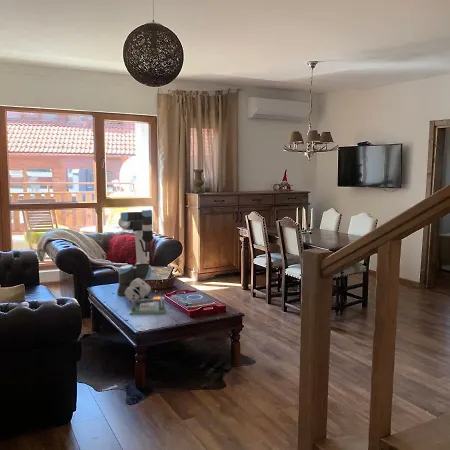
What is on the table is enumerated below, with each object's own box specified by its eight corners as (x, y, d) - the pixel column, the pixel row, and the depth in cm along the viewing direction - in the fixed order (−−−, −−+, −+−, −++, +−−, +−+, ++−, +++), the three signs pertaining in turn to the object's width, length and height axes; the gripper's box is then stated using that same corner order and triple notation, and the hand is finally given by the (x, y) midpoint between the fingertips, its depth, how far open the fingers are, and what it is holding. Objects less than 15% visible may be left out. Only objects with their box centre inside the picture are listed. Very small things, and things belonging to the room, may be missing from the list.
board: (131, 307, 348) (131, 306, 348) (164, 306, 351) (164, 304, 351) (129, 314, 332) (129, 313, 332) (164, 313, 335) (164, 311, 335)
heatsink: (140, 306, 347) (140, 299, 346) (154, 306, 348) (153, 299, 347) (139, 311, 335) (139, 304, 334) (153, 311, 336) (153, 304, 335)
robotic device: (141, 314, 354) (155, 295, 350) (119, 297, 356) (133, 278, 352) (146, 310, 364) (159, 291, 360) (125, 294, 366) (138, 274, 362)
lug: (158, 307, 345) (158, 297, 344) (164, 307, 346) (164, 296, 345) (158, 309, 339) (158, 299, 338) (164, 309, 340) (164, 299, 339)
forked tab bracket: (131, 308, 343) (131, 297, 342) (135, 307, 344) (134, 297, 342) (131, 310, 337) (130, 300, 336) (134, 310, 337) (134, 300, 336)
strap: (132, 300, 342) (132, 298, 342) (160, 299, 345) (160, 296, 344) (131, 303, 336) (131, 300, 336) (160, 301, 339) (160, 298, 338)
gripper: (138, 231, 343) (139, 262, 346) (156, 230, 344) (156, 261, 348) (138, 229, 350) (139, 259, 354) (156, 229, 352) (156, 259, 355)
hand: (148, 260), depth 351 cm, fingers closed
